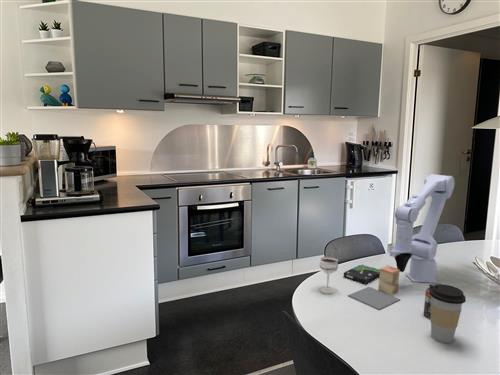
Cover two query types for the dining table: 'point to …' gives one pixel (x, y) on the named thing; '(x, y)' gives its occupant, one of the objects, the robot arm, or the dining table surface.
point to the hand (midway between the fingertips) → (400, 270)
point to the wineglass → (328, 270)
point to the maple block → (389, 280)
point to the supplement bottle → (428, 300)
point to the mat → (374, 298)
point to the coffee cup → (445, 311)
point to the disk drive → (362, 274)
